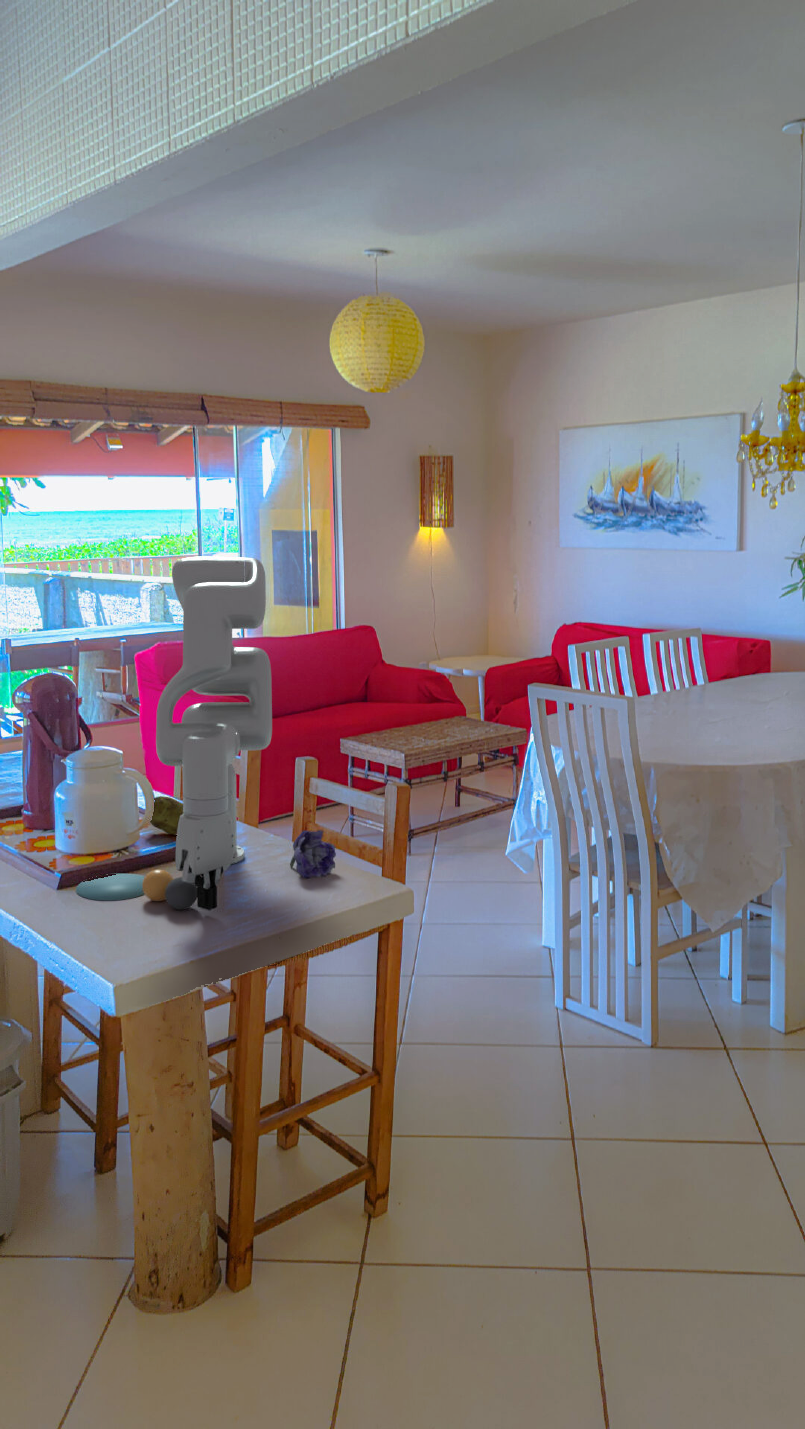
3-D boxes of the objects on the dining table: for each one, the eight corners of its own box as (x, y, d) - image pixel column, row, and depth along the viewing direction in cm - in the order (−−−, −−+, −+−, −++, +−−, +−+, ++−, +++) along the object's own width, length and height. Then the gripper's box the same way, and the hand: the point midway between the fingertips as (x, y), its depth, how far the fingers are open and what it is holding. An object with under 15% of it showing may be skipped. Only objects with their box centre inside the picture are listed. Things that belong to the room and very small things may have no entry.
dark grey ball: (205, 890, 185) (196, 915, 188) (195, 870, 190) (187, 895, 192) (175, 890, 182) (166, 916, 184) (165, 870, 186) (157, 896, 188)
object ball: (151, 899, 194) (145, 869, 194) (180, 894, 193) (175, 864, 193) (141, 906, 188) (135, 875, 188) (171, 901, 188) (165, 870, 188)
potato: (192, 842, 225) (191, 805, 223) (138, 835, 229) (137, 799, 227) (211, 831, 233) (210, 796, 231) (159, 825, 237) (158, 790, 235)
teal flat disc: (92, 873, 205) (92, 872, 205) (163, 876, 204) (163, 875, 204) (64, 898, 191) (64, 897, 191) (141, 902, 190) (141, 901, 190)
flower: (267, 838, 207) (310, 822, 203) (293, 845, 214) (334, 830, 210) (274, 884, 203) (317, 868, 199) (300, 890, 210) (342, 875, 206)
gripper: (219, 792, 189) (221, 890, 193) (157, 810, 177) (159, 915, 181) (251, 799, 185) (252, 899, 189) (190, 818, 173) (191, 925, 177)
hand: (207, 907), depth 185 cm, fingers closed
